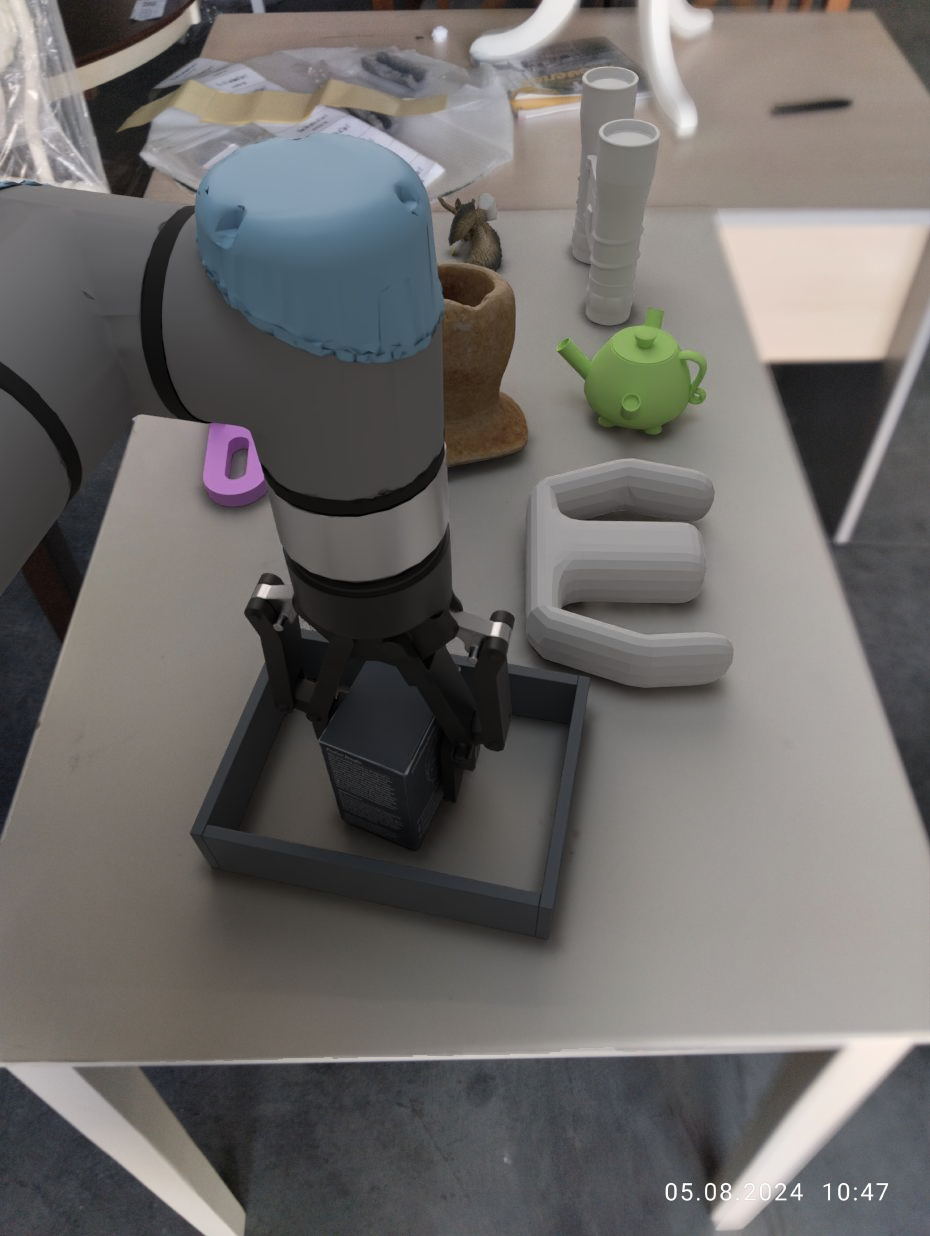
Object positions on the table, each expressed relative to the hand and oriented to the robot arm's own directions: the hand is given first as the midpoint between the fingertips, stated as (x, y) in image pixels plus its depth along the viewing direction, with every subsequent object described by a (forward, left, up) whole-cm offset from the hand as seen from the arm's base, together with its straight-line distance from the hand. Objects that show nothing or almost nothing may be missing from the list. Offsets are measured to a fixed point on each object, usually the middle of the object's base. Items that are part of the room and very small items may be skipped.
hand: (402, 773), depth 57 cm
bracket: (-23, +29, -2) cm, 37 cm away
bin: (0, 0, -2) cm, 2 cm away
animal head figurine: (-10, +66, -2) cm, 67 cm away
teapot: (+10, +42, -2) cm, 43 cm away
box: (0, 0, -2) cm, 2 cm away
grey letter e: (+12, +20, -2) cm, 24 cm away
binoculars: (+5, +63, -2) cm, 63 cm away
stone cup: (-6, +35, -2) cm, 36 cm away
